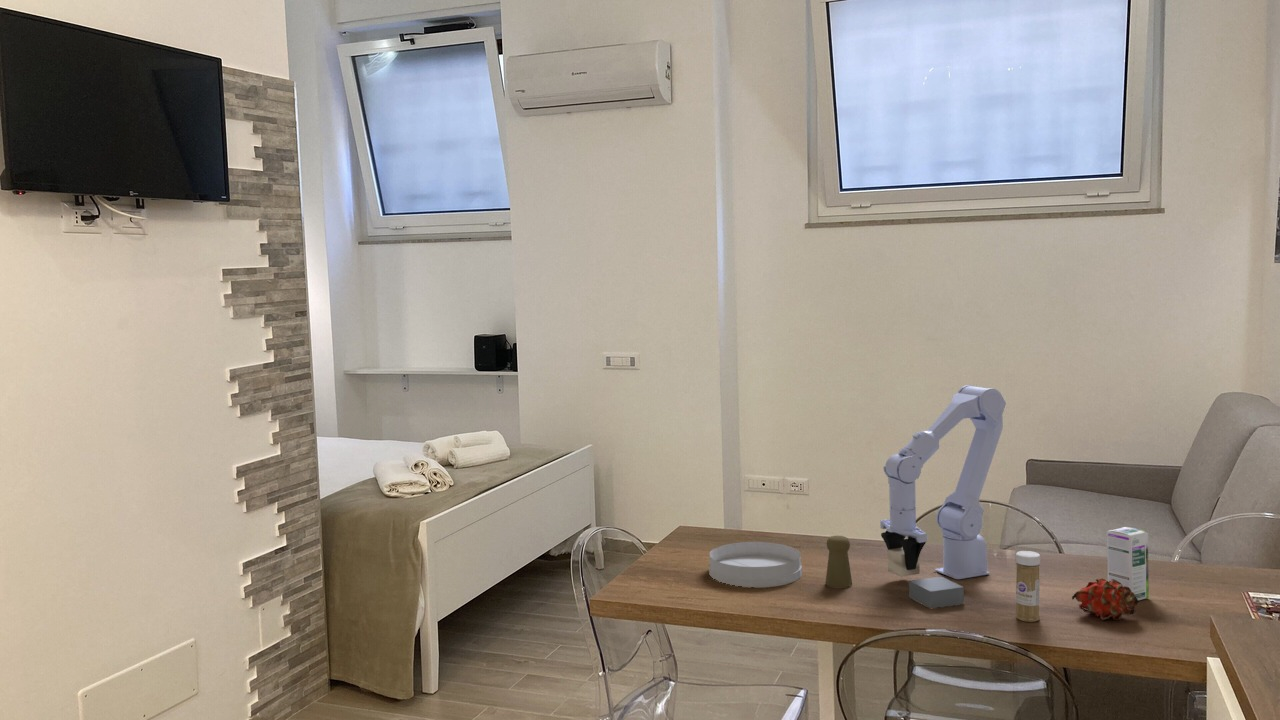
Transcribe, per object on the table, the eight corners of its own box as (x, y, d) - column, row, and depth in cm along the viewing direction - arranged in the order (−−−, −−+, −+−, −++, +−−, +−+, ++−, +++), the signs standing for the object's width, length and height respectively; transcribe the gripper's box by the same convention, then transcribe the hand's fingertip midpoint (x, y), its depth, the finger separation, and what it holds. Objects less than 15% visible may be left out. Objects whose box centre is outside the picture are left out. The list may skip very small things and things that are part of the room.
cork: (852, 588, 213) (851, 540, 212) (825, 587, 214) (824, 539, 214) (852, 580, 219) (851, 533, 218) (825, 579, 220) (824, 532, 219)
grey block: (941, 594, 208) (941, 576, 208) (963, 605, 201) (963, 587, 200) (909, 598, 206) (909, 580, 206) (930, 610, 198) (930, 591, 198)
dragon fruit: (1143, 631, 186) (1077, 631, 192) (1141, 596, 192) (1076, 596, 198) (1136, 604, 182) (1068, 605, 188) (1134, 569, 188) (1068, 570, 194)
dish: (821, 576, 224) (821, 555, 224) (750, 595, 212) (750, 573, 211) (759, 556, 242) (758, 536, 242) (690, 572, 230) (689, 552, 230)
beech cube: (905, 567, 220) (905, 546, 220) (919, 573, 216) (919, 552, 215) (887, 570, 218) (887, 549, 218) (901, 576, 214) (900, 555, 213)
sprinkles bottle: (1012, 619, 191) (1012, 554, 190) (1020, 613, 194) (1020, 548, 193) (1036, 624, 188) (1035, 557, 187) (1043, 617, 191) (1043, 552, 190)
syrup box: (1131, 603, 198) (1132, 535, 197) (1106, 595, 203) (1106, 529, 202) (1149, 598, 200) (1149, 531, 199) (1123, 591, 206) (1124, 525, 205)
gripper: (869, 503, 221) (870, 560, 222) (907, 516, 208) (908, 577, 209) (894, 499, 224) (895, 556, 225) (934, 512, 210) (935, 572, 211)
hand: (903, 566), depth 217 cm, fingers closed on beech cube, 5 cm apart
